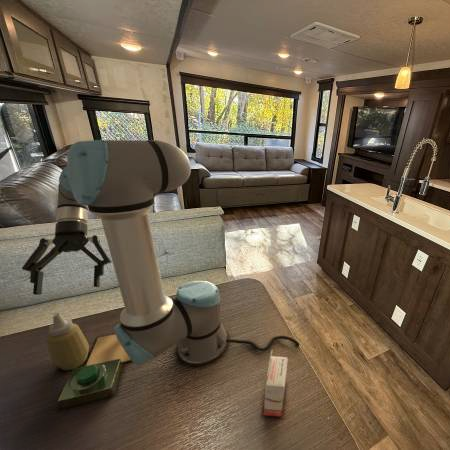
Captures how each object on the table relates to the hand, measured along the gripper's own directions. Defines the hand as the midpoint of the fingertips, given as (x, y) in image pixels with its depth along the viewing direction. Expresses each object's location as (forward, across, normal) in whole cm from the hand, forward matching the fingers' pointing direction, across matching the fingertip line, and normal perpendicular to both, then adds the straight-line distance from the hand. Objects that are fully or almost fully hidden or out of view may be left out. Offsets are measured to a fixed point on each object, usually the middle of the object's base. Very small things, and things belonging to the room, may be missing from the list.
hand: (68, 290), depth 74 cm
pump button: (+24, -8, +7) cm, 26 cm away
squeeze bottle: (+21, -1, -5) cm, 21 cm away
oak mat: (+20, -11, -5) cm, 23 cm away
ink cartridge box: (+40, -53, +20) cm, 69 cm away
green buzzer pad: (+27, -8, +3) cm, 28 cm away
